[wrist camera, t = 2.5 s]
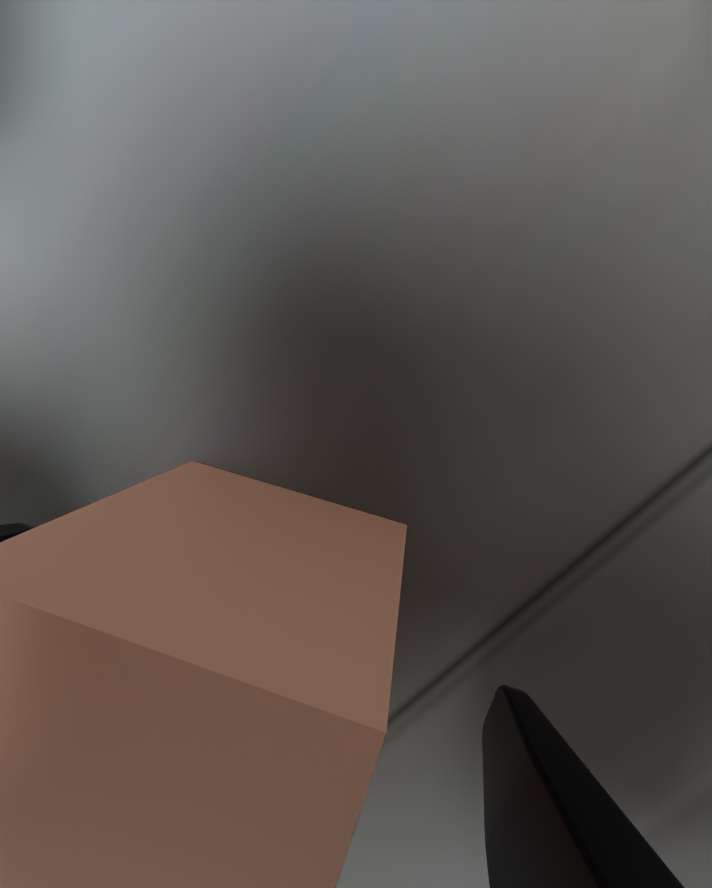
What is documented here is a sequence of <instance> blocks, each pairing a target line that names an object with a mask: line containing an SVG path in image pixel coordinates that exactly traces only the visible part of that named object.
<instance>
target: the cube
mask: <svg viewBox="0 0 712 888" xmlns="http://www.w3.org/2000/svg"><path fill="white" fill-rule="evenodd" d="M406 531H407V525H406V524H403V523H399V522H396V521H393V520H389V519H386V518H383V517H379V516H376V515H373V514H369V513H366V512H362V511H359V510H356V509H352V508H349V507H346V506H342V505H339V504H336V503H332V502H329V501H325V500H322V499H319V498H315V497H312V496H309V495H305V494H302V493H299V492H295V491H292V490H288V489H285V488H282V487H278V486H275V485H272V484H268V483H265V482H262V481H258V480H255V479H251V478H248V477H245V476H241V475H238V474H235V473H231V472H228V471H225V470H221V469H218V468H215V467H211V466H208V465H204V464H201V463H198V462H194V461H190V462H188V463H185V464H183V465H181V466H178V467H176V468H174V469H171V470H169V471H167V472H164V473H162V474H160V475H157V476H155V477H153V478H150V479H148V480H146V481H143V482H141V483H139V484H136V485H134V486H132V487H129V488H127V489H124V490H122V491H120V492H117V493H115V494H113V495H110V496H108V497H106V498H103V499H101V500H99V501H96V502H94V503H92V504H89V505H87V506H85V507H82V508H80V509H78V510H75V511H73V512H71V513H68V514H66V515H63V516H61V517H59V518H56V519H54V520H52V521H49V522H47V523H45V524H42V525H40V526H38V527H35V528H33V529H31V530H28V531H26V532H24V533H21V534H19V535H17V536H14V537H12V538H9V539H7V540H5V541H2V542H0V888H336V885H337V882H338V879H339V876H340V873H341V870H342V867H343V864H344V861H345V858H346V854H347V851H348V848H349V845H350V842H351V839H352V836H353V833H354V830H355V827H356V824H357V821H358V818H359V815H360V812H361V809H362V806H363V803H364V800H365V797H366V794H367V791H368V788H369V785H370V782H371V778H372V775H373V772H374V769H375V766H376V763H377V760H378V757H379V754H380V751H381V748H382V745H383V742H384V739H385V736H386V733H387V723H388V713H389V703H390V693H391V682H392V672H393V662H394V652H395V642H396V632H397V622H398V612H399V602H400V592H401V582H402V572H403V562H404V552H405V542H406Z"/></svg>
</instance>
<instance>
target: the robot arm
mask: <svg viewBox="0 0 712 888" xmlns="http://www.w3.org/2000/svg"><path fill="white" fill-rule="evenodd" d="M33 528H35V527H32V526H29V525H26V524H22V523H15V524H6V525H0V542H2V541H5V540H7V539H9V538H12V537H14V536H17V535H19V534H21V533H24V532H26V531H28V530H31V529H33ZM482 747H483V786H484V825H485V846H486V857H487V867H488V876H489V885H490V888H684V887H683V885H682V884H681V883H680V882H679V881H678V879H677V878H676V877H675V876H674V874H673V873H672V872H671V871H670V869H669V868H668V867H667V866H666V865H665V863H664V862H663V861H662V860H661V858H660V857H659V856H658V855H657V853H656V852H655V851H654V850H653V848H652V847H651V846H650V845H649V844H648V842H647V841H646V840H645V839H644V837H643V836H642V835H641V834H640V832H639V831H638V830H637V829H636V828H635V826H634V825H633V824H632V823H631V821H630V820H629V819H628V818H627V816H626V815H625V814H624V813H623V811H622V810H621V809H620V808H619V807H618V805H617V804H616V803H615V802H614V800H613V799H612V798H611V797H610V795H609V794H608V793H607V792H606V790H605V789H604V788H603V787H602V786H601V784H600V783H599V782H598V781H597V779H596V778H595V777H594V776H593V774H592V773H591V772H590V771H589V770H588V768H587V767H586V766H585V765H584V763H583V762H582V761H581V760H580V758H579V757H578V756H577V755H576V753H575V752H574V751H573V750H572V749H571V747H570V746H569V745H568V744H567V742H566V741H565V740H564V739H563V737H562V736H561V735H560V734H559V733H558V731H557V730H556V729H555V728H554V726H553V725H552V724H551V723H550V721H549V720H548V719H547V718H546V716H545V715H544V714H543V713H542V712H541V710H540V709H539V708H538V707H537V705H536V704H535V703H534V702H533V700H532V699H531V698H530V697H529V696H528V695H527V693H525V692H524V691H522V690H519V689H516V688H513V687H510V686H507V685H501V686H500V687H499V688H498V689H497V691H496V693H495V696H494V698H493V701H492V703H491V706H490V708H489V711H488V713H487V716H486V718H485V721H484V725H483V732H482Z"/></svg>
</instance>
